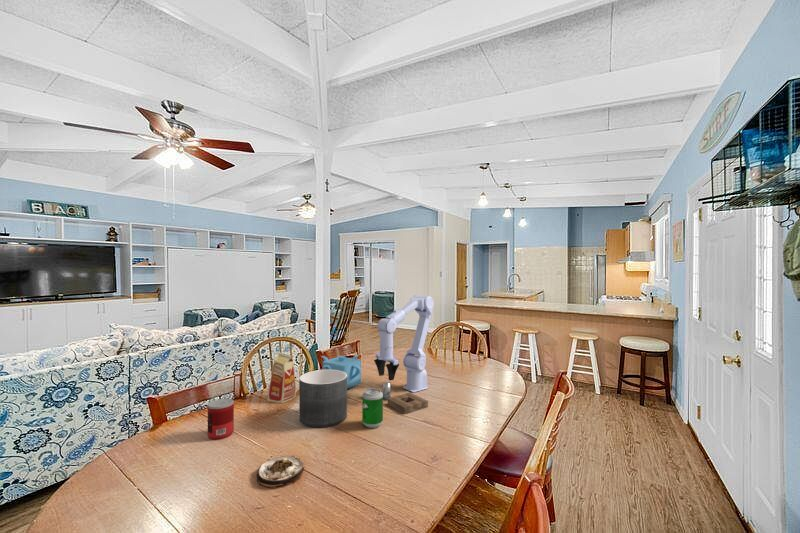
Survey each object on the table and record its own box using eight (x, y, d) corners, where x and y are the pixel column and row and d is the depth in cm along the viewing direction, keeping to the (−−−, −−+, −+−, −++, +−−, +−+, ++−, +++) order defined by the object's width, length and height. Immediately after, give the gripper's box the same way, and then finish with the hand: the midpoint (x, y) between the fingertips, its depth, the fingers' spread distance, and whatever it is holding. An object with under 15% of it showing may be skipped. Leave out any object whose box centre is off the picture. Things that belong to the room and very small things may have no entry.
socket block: (409, 398, 154) (409, 392, 154) (428, 406, 145) (428, 400, 145) (387, 404, 147) (387, 398, 147) (405, 414, 138) (405, 407, 138)
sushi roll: (248, 498, 88) (248, 481, 88) (254, 465, 103) (255, 451, 103) (309, 487, 92) (309, 471, 92) (307, 457, 107) (307, 444, 107)
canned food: (238, 431, 123) (238, 399, 123) (220, 442, 115) (220, 408, 115) (221, 427, 125) (221, 397, 125) (202, 438, 118) (202, 405, 118)
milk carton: (267, 400, 150) (267, 354, 150) (282, 393, 159) (282, 349, 159) (284, 404, 147) (284, 356, 147) (298, 396, 155) (298, 351, 155)
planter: (290, 418, 134) (290, 376, 134) (328, 404, 147) (329, 366, 147) (316, 433, 122) (317, 387, 122) (356, 417, 135) (356, 376, 135)
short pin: (371, 396, 156) (371, 387, 156) (376, 398, 154) (376, 389, 154) (365, 397, 154) (365, 388, 154) (369, 400, 152) (369, 391, 152)
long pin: (387, 397, 155) (387, 381, 155) (392, 399, 153) (392, 383, 153) (381, 398, 153) (381, 382, 153) (385, 401, 151) (385, 384, 151)
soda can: (384, 420, 132) (384, 388, 132) (381, 429, 124) (381, 395, 124) (364, 419, 133) (364, 387, 133) (360, 428, 125) (360, 394, 125)
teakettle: (363, 392, 161) (363, 360, 161) (321, 395, 157) (321, 362, 157) (358, 379, 179) (358, 350, 179) (320, 381, 175) (321, 352, 175)
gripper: (369, 344, 156) (369, 375, 156) (388, 351, 145) (388, 384, 145) (382, 342, 160) (382, 372, 161) (402, 348, 149) (402, 380, 149)
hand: (386, 377), depth 153 cm, fingers open, 7 cm apart
